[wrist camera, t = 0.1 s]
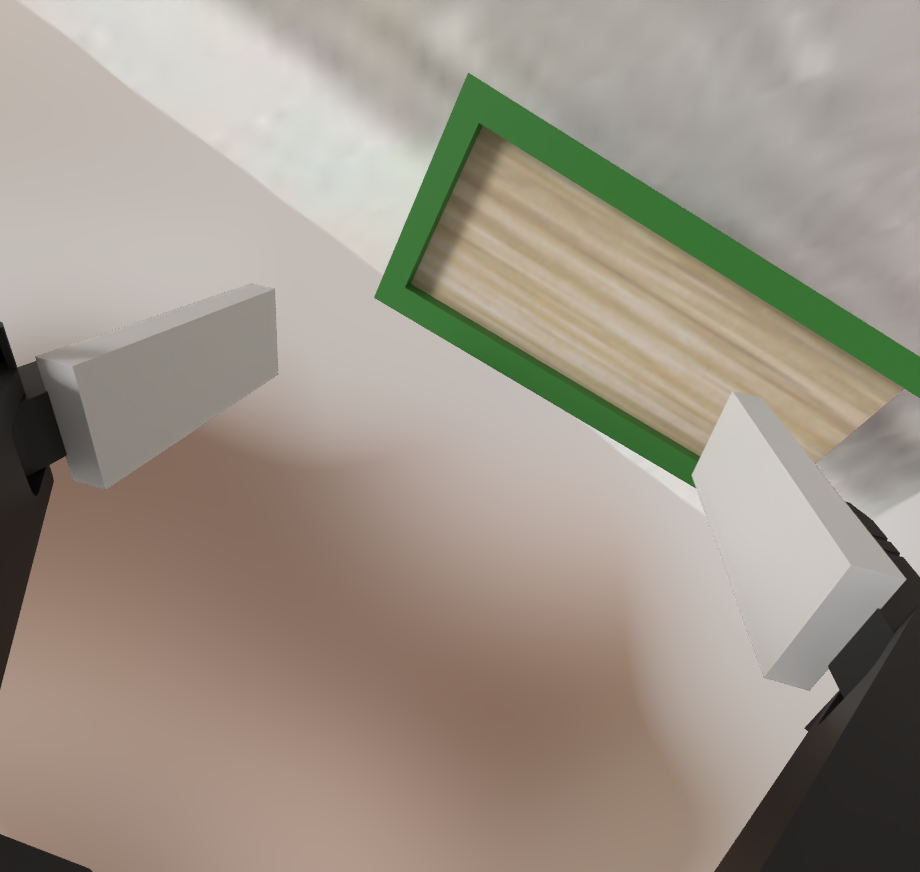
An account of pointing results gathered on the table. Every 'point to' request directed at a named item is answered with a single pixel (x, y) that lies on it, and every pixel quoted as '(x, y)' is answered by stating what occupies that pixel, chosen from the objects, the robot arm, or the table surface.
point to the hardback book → (621, 296)
